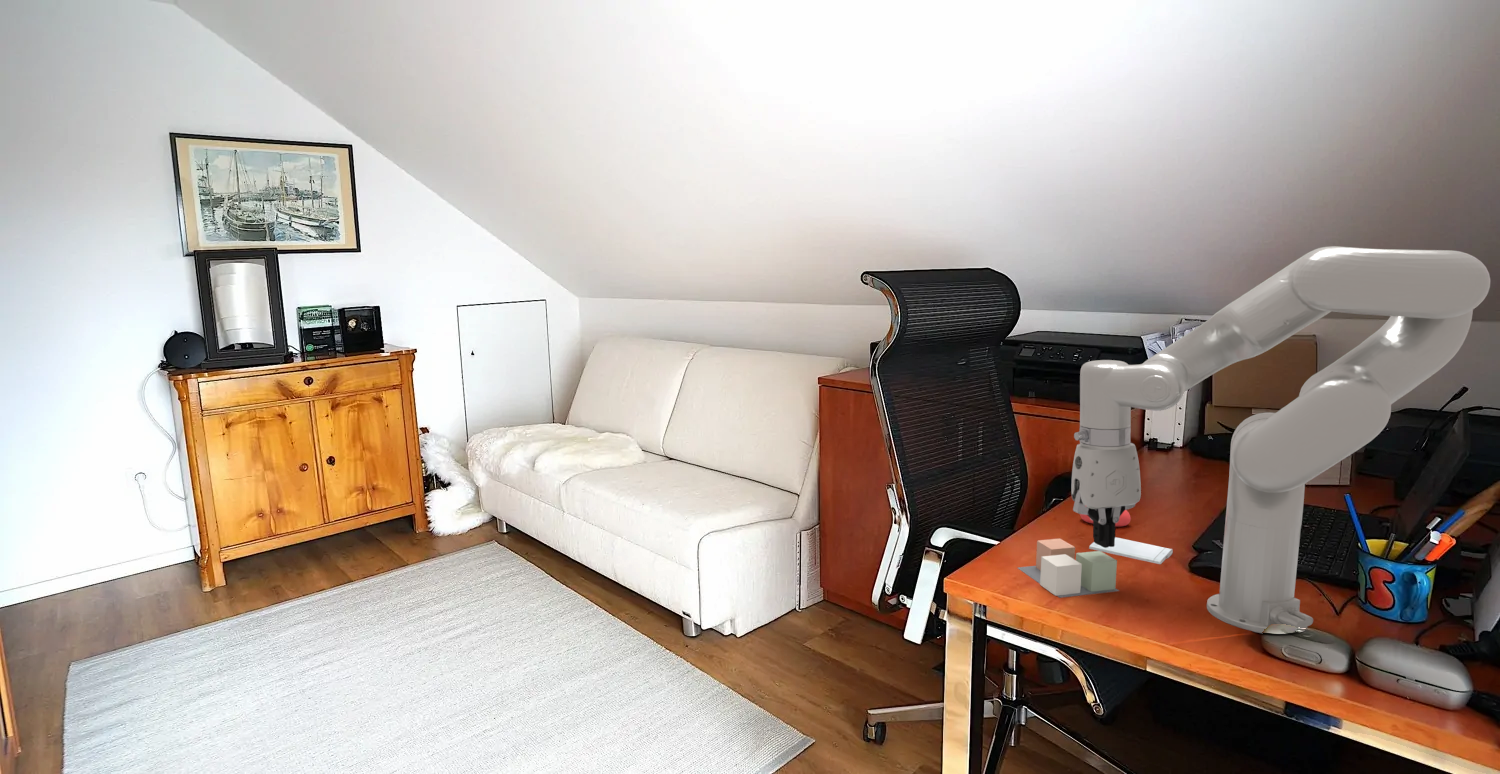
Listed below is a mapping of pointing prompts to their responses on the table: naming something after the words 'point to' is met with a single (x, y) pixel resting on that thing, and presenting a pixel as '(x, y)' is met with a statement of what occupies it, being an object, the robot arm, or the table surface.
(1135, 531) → the table surface
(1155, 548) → the hard drive
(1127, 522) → the stress ball
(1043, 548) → the block terracotta
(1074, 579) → the block cream
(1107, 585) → the block sage
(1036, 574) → the felt mat
